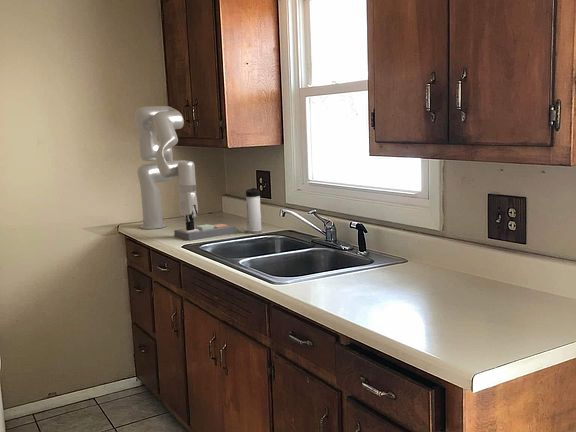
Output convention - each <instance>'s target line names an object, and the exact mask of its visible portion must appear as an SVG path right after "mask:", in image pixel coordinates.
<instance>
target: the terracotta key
mask: <svg viewBox="0 0 576 432" xmlns="http://www.w3.org/2000/svg"><path fill="white" fill-rule="evenodd" d="M217 224H218V225H213V224H212V225H213V226H214V228H221V227H227V226H228V224H224V223H217Z"/></svg>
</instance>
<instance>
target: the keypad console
mask: <svg viewBox="0 0 576 432" xmlns="http://www.w3.org/2000/svg"><path fill="white" fill-rule="evenodd" d="M218 224H219V223H215V224H214V223H213V224H212V225H218ZM227 225H228V224H227ZM185 229H186V228H181V229H180V228H179V229H174V230H173V233H174V237H175V238H177V237H178V238H179V239H182V240H185V241H188V240H189V242H190V241H191V242H192V241H195V240H202V239H208V238H215V237H220V236H228V235H233V234H236V233H237V229H236V226H233V225H228V226H227V227H221V228H214V229H208V230H199V229H198V230H199V231H195V232H188V233H186V232H182V231H181V230H185ZM194 229H196V226H194ZM178 238H177V239H178Z"/></svg>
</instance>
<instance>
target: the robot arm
mask: <svg viewBox="0 0 576 432" xmlns="http://www.w3.org/2000/svg"><path fill="white" fill-rule="evenodd" d="M134 120H135V121H134V122H135V124H136V128H137V131H138V141H139V144H138V147H139V156H140V159H141V160H142V161H145V162H151V163H144V164H141V165H140V166H139V167H138V168H137V178H138V181H139V187H140V197H141V209H142V223H143V224H141V225H140V229H142V230H155V229H156V230H157V229H161V228H162V229H163V228H166V227H167V223H165V222H164V221H163V220H164V219H163V205H162V192H161V190H160V188H159V186H158V185H157V183H163V182H165V183H166V182H169V181H171V180H173V178H177V179H178V212H179V214H180V215H181V216H183V217H184V221H185V229H186V230H188V231H189V230H194V227H195V219H196V218H197V214H198V213H199V206H198V204H199V203H198V197H197V184H196V183H197V182H196V169H195V168H196V166H195V162H194V161H191V160H185V159H182V160H174V158H173V157H174V156H173V155H174V154H173V147H174V146H176V145H177V144H178V142H179V138H178V134H177V132H176V130H180V129H182V128H183V127H184V124H185V120H184V116H183V115H182V113H181V112H180V111H179V110H177V109H176V108H173V107H171V106H168V105H156V106H155V105H153V106H141V107H139V108H137V109H136V111H135V114H134ZM152 161H153V162H152ZM154 161H155V163H154Z"/></svg>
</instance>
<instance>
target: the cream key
mask: <svg viewBox="0 0 576 432" xmlns="http://www.w3.org/2000/svg"><path fill="white" fill-rule="evenodd" d="M184 229H185V230H181V231H182V232H186V233H188V232H195V231H199V230H198V229H194V230H189V231H188V230H186V228H184Z"/></svg>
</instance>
